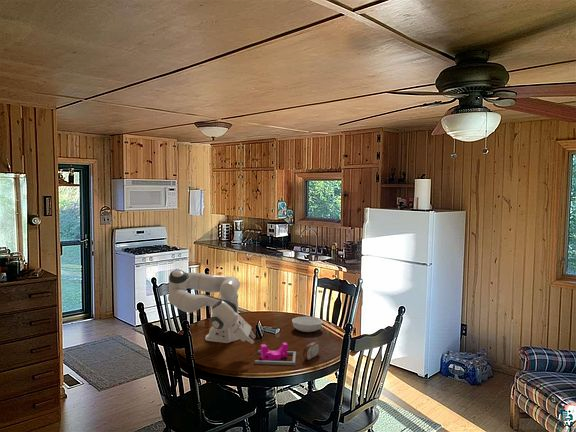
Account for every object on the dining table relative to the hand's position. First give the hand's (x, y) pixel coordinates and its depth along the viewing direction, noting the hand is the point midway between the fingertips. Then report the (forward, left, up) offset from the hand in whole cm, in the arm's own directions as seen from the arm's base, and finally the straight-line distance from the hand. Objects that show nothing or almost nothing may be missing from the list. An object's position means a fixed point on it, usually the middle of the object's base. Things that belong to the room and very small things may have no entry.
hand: (254, 340), depth 247 cm
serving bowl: (+30, +55, -11) cm, 63 cm away
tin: (+33, +5, -11) cm, 35 cm away
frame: (+12, +1, -11) cm, 16 cm away
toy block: (+12, +2, -11) cm, 16 cm away
